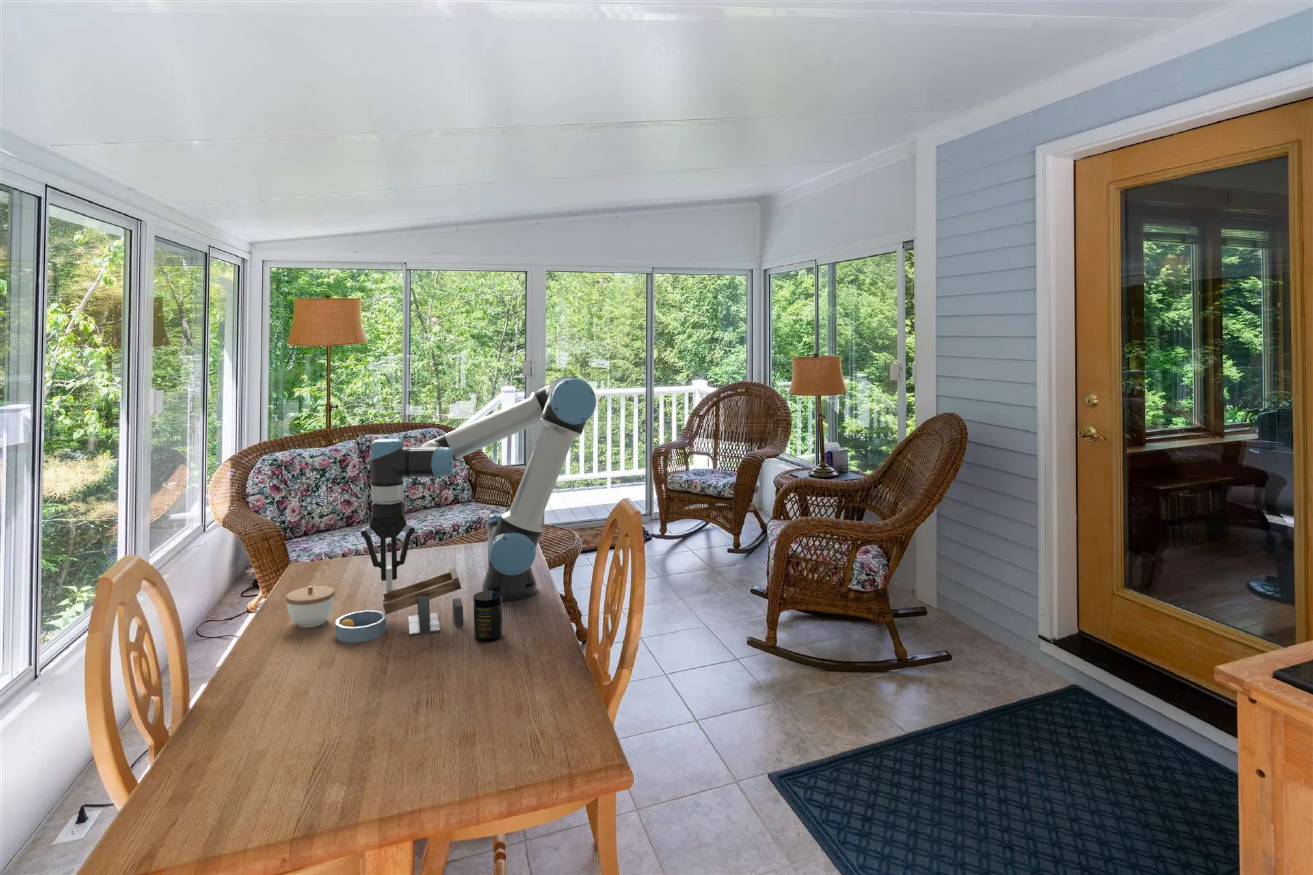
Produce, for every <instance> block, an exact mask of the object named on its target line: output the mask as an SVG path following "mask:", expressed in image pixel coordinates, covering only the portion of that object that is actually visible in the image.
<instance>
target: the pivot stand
mask: <svg viewBox="0 0 1313 875" xmlns="http://www.w3.org/2000/svg"><path fill="white" fill-rule="evenodd" d="M430 606H431V605H430V600H429V595H420V596H419V603H418V604H417V614H413V615H408V616H407V618H408V631H409V637H413V636H421V635H430V634H431V635H432V634H437V633H441V626H440V622H439V616H438V612H430V611H431V610H430Z"/></svg>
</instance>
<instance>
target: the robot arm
mask: <svg viewBox="0 0 1313 875" xmlns="http://www.w3.org/2000/svg"><path fill="white" fill-rule="evenodd" d="M596 396H597V395H596V393H595V391H594V389H593V387H592V386H591V385H590V383H588V382H587V381H585V380H584V379H582V378H579V377H576V376H562V377H559V378H556V379H555V380H553V381H551V382H550V383H548V384H546V385H544V386H543V387H541V388H539V389H537V390H535V391H532V392H531V394H530V397H528V398H525V399H523V400H521V401H519V402H515V403H514V404H512V405H509V406H507V407H505V408H501V409H500V410H498V411H495V412H493V413H491V414H489V415H485V416H484V417H482V418H480V419H477V420H475V421H473V422H471V423H468V424H465V425H463V426H461V427H459V428H457V429H454V430H452V431H449V432H448V433H446V434H443V435H440V436H439V437H436V438H434V439H428V440H426V441H424V442H422V444H421V445H420V446H419V447H417V446H415V447H410V446H409V447H407V446H404V442H403V440H402V439H399V438H379V439H374V440H373V441H372V442H371V444H370V458H369V460H370V495H371V496H370V497H371V501H372V503H371V520H370V522H369V525H367V526H366V527H365V528H362V529H360V536H362V538H363V539H364V540H365V543H366V546H367V549H368V552H369V557H370V559H371V563H372V565H373V567H374V568H379V569H380V580H381V581H383V582H385V592H386V593H387V592H390V591H392V590H393V581H397V579H398V567H399V566H401V565H404V564H405V562H406V558H407V553H408V550H409V546H410V541H411V539H412V538H411V537H412V536H413V534H414V533H415V531H416V527H415V525H410V524H409V523H407V520H406V518H405V504H404V503H405V502H404V501H403V500H404V499H405V495H404V494H405V493H404V492H405V491H404V490H405V488H404V485H405V484H404V483H405V482H404V478H441V477H450V476H452V475H453V472H454V461H457V460H458V459H460V458H462V457H465V456H467V455H470V454H472V453H474V452H476V451H477V452H478V451H479V450H481V449H483V448H486V447H488V446H490V445H492V444H495V443H497V442H499V441H501V440H504V439H506V438H509V437H511V436H513V435H515V434H518V433H520V432H521V431H524V430H527V429H529V428H531V427H533V426H536V425H538V424H540V423H541V425H542V427H541V430H540V432H539V435H538V438H537V440H536V443H535V446H534V448H533V450H532V453H531V456H530V458H529V460H528V463H527V465H526V468H525V469H524V473H523V475H522V478H521V480H520V483H519V485H518V488H517V491H516V493H515V496H514V498H513V501H512V503H511V506H510V508H509V510H508V511H505V512H503V511H502V512H495V513H491V514H489V515H488V517H487V523H486V526H487V560H488V563H487V566H488V567H487V568H486V569H487V570H486V573H485V576H484V579H483V583H482V588H481V589H482V590H481V592H482V591H498V592H501V593H502V602H503V601H507V602H508V601H517V600H522V599H526V598H529V597H531V596H533V595H534V594H535V593H536V592H537V581H536V578H535V575H534V572H533V569H532V565H533V564H534V562H535V560H536V555H537V546H538V543H539V540H540V539H541V535H542V533H543V530H544V529H543V526H542V524H541V520H542V517H543V515H544V513H545V511H546V507H547V505H548V504H549V501H550V498H551V496H552V493H553V491H554V488H555V485H556V482H557V481H558V477H559V475H560V474H561V471H562V468H563V466H564V463H565V460H566V458H567V456H568V454H569V450H570V448H571V445H572V443H573V441H574V439H575V438H577V437H579V436H582V433H583V431H584V429H585V426H586V424H587V421H588V420H589V419H590V418H591V417H592V415H593V414H594V412H595V411H596V410H595V409H596V407H597V397H596ZM403 529H404V533H405V536H404V540H403V544H402V547H401V552H400V555H399V558H398V556H397V555H398V552H397V551H398V550H397V547H398V546H397V543H398V542H397V537H399V535H400V534H401V532H402V531H403ZM372 531H373V532H374V534H375V535H376V536H377V537H378V538H379V539H380V540H379V541H380V543H379V544H380V547H379V548H380V560H379V559H378V555H377V553H376V548H375V546H374V543H373V539H372V534H373V533H372ZM388 538H390V539H391V549H390V550H391V565H387V544H386V542H387V540H386V539H388ZM530 595H531V596H530Z"/></svg>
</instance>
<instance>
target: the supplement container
mask: <svg viewBox="0 0 1313 875" xmlns="http://www.w3.org/2000/svg"><path fill="white" fill-rule="evenodd" d="M472 598H473V599H472V604H473V637H474V639H475V641H477V642H479V643H492V642H495V641H498V640H500V639H501V638H502V637H503V631H504V629H503V627H504V626H503V601H502V593H501V592H498V591H482V590H481V591H478V592H476V593H474V594H473V595H472Z"/></svg>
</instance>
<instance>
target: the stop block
mask: <svg viewBox="0 0 1313 875" xmlns="http://www.w3.org/2000/svg"><path fill="white" fill-rule="evenodd" d="M463 604H464V603H463V601H462V598H461V597H459V598H452V619H453V623H454V626H461V625H464V606H463Z"/></svg>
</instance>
